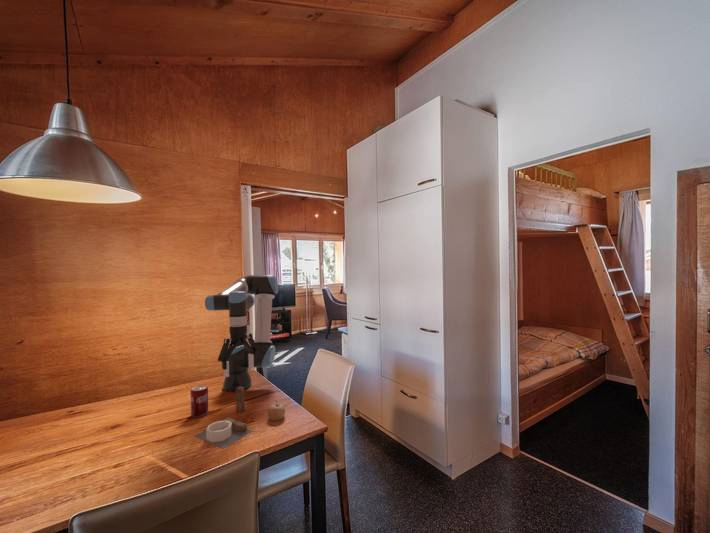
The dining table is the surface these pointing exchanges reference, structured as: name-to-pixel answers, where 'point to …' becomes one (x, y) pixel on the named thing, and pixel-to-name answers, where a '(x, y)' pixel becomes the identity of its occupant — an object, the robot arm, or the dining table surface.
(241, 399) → the brown wooden bar
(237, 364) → the robot arm
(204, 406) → the soda can
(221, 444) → the slate board
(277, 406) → the fruit
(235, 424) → the bar
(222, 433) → the white octagonal bowl
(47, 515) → the dining table surface
